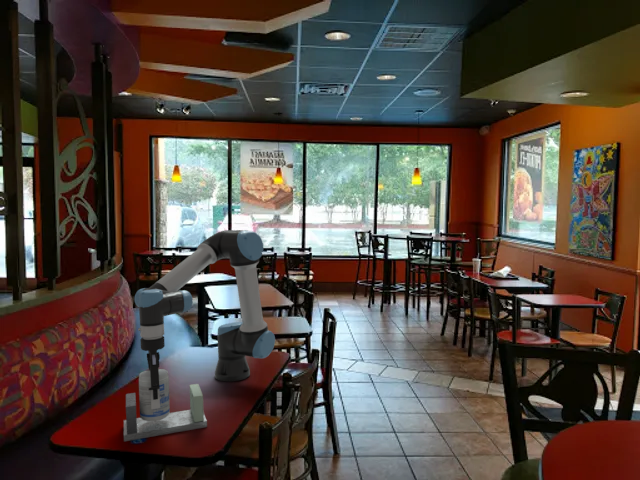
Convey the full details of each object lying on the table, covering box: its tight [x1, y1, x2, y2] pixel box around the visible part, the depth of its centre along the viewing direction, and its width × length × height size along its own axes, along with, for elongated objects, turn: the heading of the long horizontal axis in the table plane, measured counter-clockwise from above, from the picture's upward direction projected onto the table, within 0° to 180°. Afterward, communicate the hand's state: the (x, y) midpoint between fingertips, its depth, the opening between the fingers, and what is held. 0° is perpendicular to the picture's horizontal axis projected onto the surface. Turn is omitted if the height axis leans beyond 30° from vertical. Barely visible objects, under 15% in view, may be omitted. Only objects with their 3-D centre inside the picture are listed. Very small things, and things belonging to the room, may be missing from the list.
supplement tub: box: [138, 368, 171, 421], centre depth 165 cm, size 10×10×15 cm
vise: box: [123, 392, 208, 442], centre depth 166 cm, size 26×12×11 cm, turn 111°
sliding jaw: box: [189, 383, 205, 422], centre depth 170 cm, size 3×12×9 cm, turn 21°
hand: (154, 402), depth 165 cm, fingers closed on supplement tub, 10 cm apart
